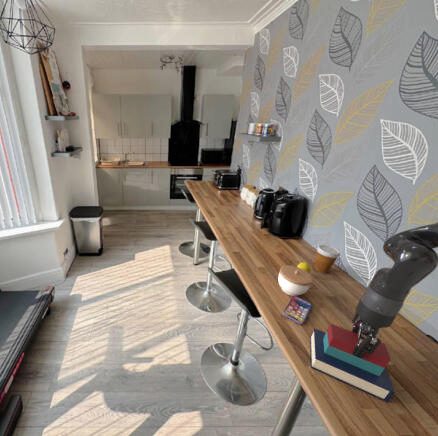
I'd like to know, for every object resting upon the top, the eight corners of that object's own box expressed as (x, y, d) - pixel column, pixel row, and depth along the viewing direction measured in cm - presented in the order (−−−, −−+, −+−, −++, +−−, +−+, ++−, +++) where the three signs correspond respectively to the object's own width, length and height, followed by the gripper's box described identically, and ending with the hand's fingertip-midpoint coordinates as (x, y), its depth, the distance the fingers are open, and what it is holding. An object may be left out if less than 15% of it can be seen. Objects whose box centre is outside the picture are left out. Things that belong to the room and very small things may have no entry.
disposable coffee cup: (306, 265, 124) (313, 245, 120) (319, 262, 127) (326, 243, 122) (323, 276, 116) (331, 255, 111) (336, 273, 119) (345, 253, 114)
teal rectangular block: (374, 359, 71) (379, 351, 70) (379, 376, 67) (384, 368, 65) (323, 339, 77) (326, 331, 76) (324, 353, 73) (328, 345, 71)
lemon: (296, 271, 119) (301, 258, 116) (309, 276, 115) (314, 263, 112) (292, 275, 116) (297, 262, 113) (305, 281, 112) (310, 267, 109)
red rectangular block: (379, 351, 70) (384, 343, 69) (385, 368, 65) (390, 360, 64) (327, 331, 76) (330, 323, 75) (328, 345, 71) (332, 337, 70)
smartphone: (312, 305, 97) (302, 325, 88) (293, 296, 102) (281, 314, 92) (313, 304, 97) (303, 324, 87) (294, 294, 102) (282, 312, 92)
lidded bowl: (284, 300, 100) (292, 279, 95) (269, 281, 111) (275, 261, 107) (313, 300, 100) (322, 279, 96) (295, 281, 112) (302, 262, 107)
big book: (376, 364, 75) (382, 354, 73) (387, 402, 65) (395, 392, 63) (309, 337, 83) (314, 328, 81) (310, 367, 73) (315, 358, 71)
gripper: (407, 329, 56) (376, 374, 63) (389, 294, 67) (365, 335, 74) (367, 315, 60) (342, 359, 67) (356, 284, 71) (336, 325, 78)
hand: (354, 347), depth 70 cm, fingers closed on red rectangular block, 6 cm apart
